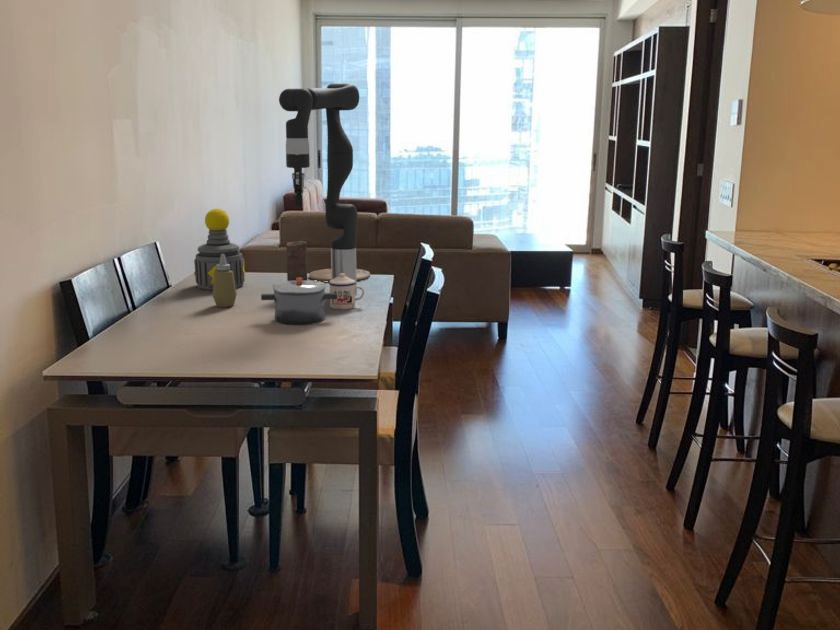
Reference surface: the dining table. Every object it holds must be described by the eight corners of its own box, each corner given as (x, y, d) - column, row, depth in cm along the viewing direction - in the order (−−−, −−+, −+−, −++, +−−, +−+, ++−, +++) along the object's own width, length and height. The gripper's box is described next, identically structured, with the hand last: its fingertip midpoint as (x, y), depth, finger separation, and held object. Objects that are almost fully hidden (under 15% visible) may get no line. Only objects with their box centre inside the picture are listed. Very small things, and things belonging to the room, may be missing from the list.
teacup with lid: (328, 310, 273) (328, 276, 270) (330, 304, 282) (329, 271, 279) (364, 309, 274) (363, 276, 271) (364, 304, 282) (364, 271, 280)
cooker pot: (265, 314, 267) (263, 284, 264) (337, 312, 269) (337, 283, 266) (259, 325, 251) (258, 294, 249) (337, 324, 253) (336, 293, 251)
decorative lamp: (249, 281, 322) (246, 206, 316) (239, 290, 304) (236, 211, 297) (202, 281, 322) (198, 206, 315) (189, 290, 304) (184, 211, 297)
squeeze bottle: (236, 302, 284) (233, 252, 280) (238, 307, 276) (235, 255, 272) (212, 304, 281) (209, 252, 277) (214, 308, 274) (211, 256, 270)
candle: (309, 297, 293) (307, 242, 288) (288, 298, 291) (286, 243, 286) (306, 293, 300) (305, 239, 295) (286, 294, 298) (284, 240, 294)
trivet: (331, 270, 349) (331, 266, 349) (381, 275, 338) (381, 271, 337) (297, 280, 328) (296, 275, 327) (349, 285, 316) (349, 281, 316)
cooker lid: (275, 284, 265) (274, 274, 264) (326, 283, 266) (325, 273, 266) (270, 294, 249) (270, 283, 248) (324, 293, 250) (324, 283, 249)
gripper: (287, 151, 267) (289, 204, 271) (284, 153, 254) (286, 208, 258) (310, 152, 267) (311, 204, 271) (308, 153, 254) (309, 208, 258)
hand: (299, 206), depth 264 cm, fingers closed
